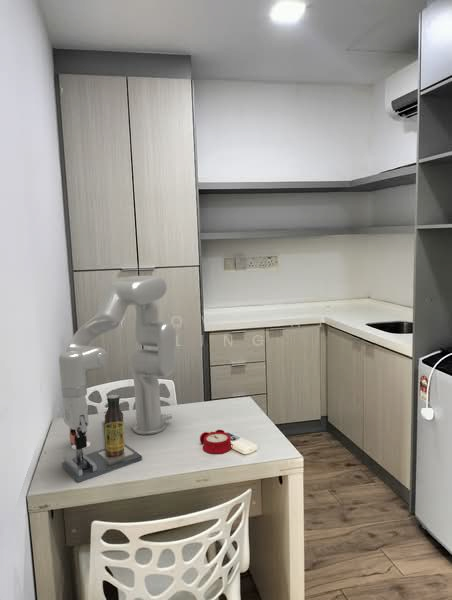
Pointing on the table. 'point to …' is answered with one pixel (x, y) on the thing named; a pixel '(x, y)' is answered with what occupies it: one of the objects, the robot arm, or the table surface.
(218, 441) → the alarm clock
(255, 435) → the table surface
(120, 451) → the sauce bottle
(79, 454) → the press lever
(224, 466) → the table surface
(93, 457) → the base
